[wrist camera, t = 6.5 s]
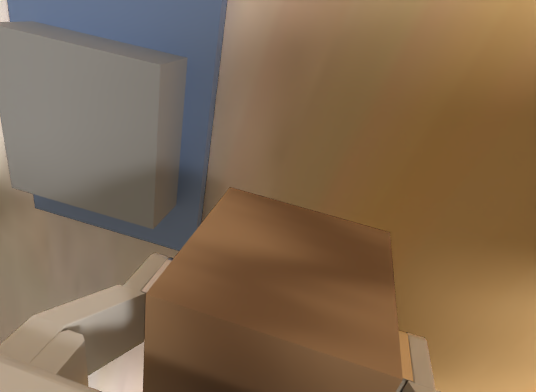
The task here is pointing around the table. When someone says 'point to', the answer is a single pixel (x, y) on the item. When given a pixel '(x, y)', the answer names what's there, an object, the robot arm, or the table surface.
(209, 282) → the walnut cube
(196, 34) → the base
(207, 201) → the table surface
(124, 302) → the robot arm
